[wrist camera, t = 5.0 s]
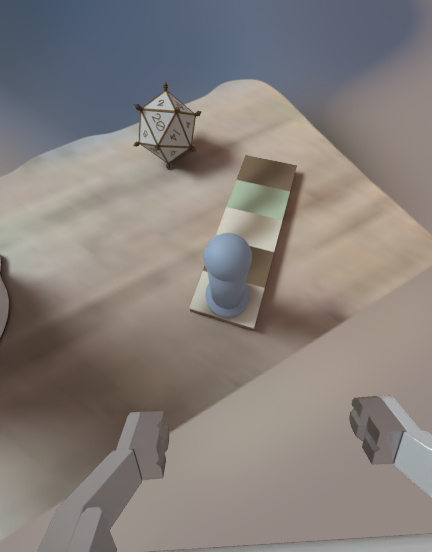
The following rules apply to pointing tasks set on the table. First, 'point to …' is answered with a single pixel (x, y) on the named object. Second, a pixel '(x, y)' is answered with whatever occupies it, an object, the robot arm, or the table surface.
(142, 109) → the game die
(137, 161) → the table surface
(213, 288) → the pawn
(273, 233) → the track
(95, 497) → the robot arm
